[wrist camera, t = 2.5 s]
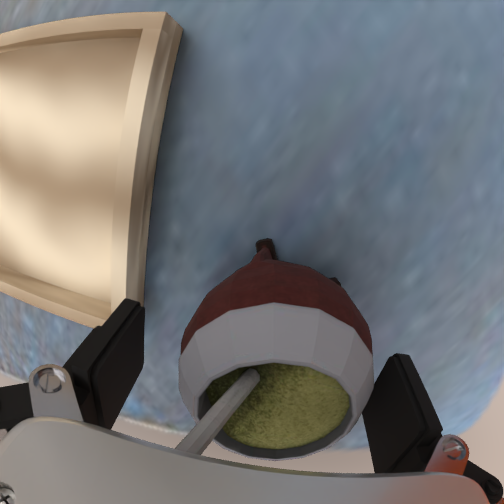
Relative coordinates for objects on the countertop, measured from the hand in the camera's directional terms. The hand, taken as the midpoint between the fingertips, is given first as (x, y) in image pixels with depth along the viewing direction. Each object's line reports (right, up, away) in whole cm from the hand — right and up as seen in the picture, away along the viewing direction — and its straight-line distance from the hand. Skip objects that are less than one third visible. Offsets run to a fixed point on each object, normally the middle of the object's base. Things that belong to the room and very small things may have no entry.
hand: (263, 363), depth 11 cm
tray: (-12, +9, +3) cm, 15 cm away
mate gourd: (0, +2, +5) cm, 6 cm away
